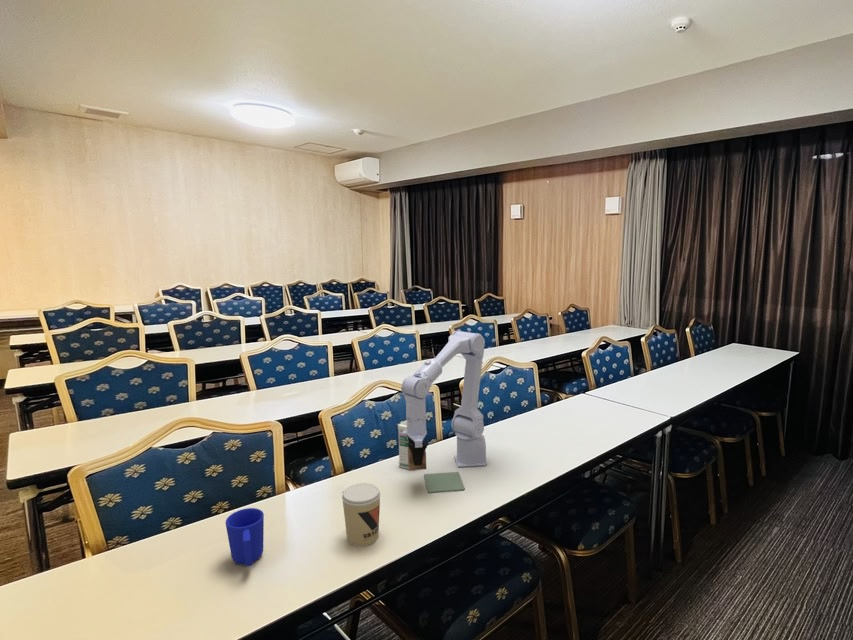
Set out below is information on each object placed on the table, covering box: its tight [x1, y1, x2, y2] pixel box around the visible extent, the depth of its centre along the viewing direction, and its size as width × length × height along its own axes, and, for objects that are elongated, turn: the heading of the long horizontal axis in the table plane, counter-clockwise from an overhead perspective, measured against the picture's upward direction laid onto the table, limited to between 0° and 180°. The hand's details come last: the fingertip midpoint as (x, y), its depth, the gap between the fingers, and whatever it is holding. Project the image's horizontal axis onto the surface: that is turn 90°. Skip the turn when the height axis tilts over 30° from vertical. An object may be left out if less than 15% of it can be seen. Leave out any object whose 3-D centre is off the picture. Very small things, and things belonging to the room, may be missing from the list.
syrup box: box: [397, 420, 409, 470], centre depth 152 cm, size 6×6×14 cm
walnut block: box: [408, 447, 427, 471], centre depth 138 cm, size 5×5×5 cm
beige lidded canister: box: [341, 482, 381, 547], centre depth 115 cm, size 9×9×12 cm
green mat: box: [423, 471, 466, 494], centre depth 142 cm, size 11×11×1 cm
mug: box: [225, 507, 265, 567], centre depth 106 cm, size 8×12×10 cm
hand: (417, 460), depth 138 cm, fingers closed on walnut block, 5 cm apart
